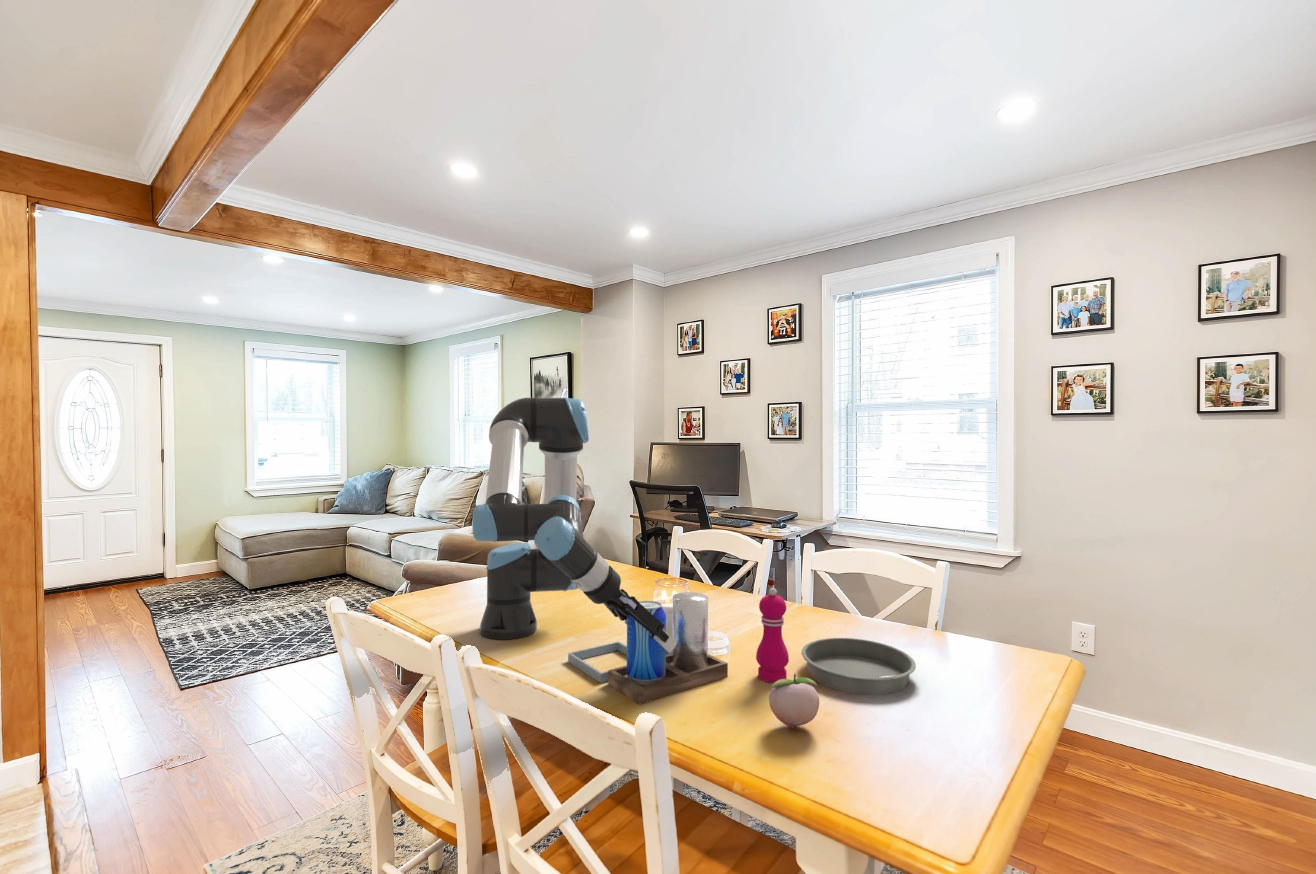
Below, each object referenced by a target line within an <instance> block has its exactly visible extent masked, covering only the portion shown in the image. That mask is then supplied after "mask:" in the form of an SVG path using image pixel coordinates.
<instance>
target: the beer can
mask: <svg viewBox="0 0 1316 874" xmlns="http://www.w3.org/2000/svg"><path fill="white" fill-rule="evenodd" d="M637 601H638V600H637ZM638 602H639V603H640V604H641V605H642V606H643V607H645V608H646V609H647V610H648V611H649V612H650V613H651V614H652V615H653V616H655V617H656V618H657V619H658V620H659V621H660V622H661V623H663V624H664V625H665V627H664V630H665V631H666V632H667V614H666V612H665V610H664V609H663V607H662V606H663V604H662V603H661V602H660V601H654V600H639V601H638ZM650 634H651V633H650V632H649V631H647V630H646V629H645V628H644V627H642V626H641V625H640V624H639V623H637V622H636V621H635V620H634V619H633V618H631V617H630V616H629V615H628V616H627V625H626V646H627V655H626V665H627V675H628V677H629V678H630V680H631V681H632V682H634V683H636V684H639V685H648V684H651V683H654V682H658V681H661V680H662V678H663V677H664V676H665V674H666V650H665V649H664V648H663V647H662V646H661V645H660V644H659V643H658V642H657V641H656V640H655V639H654V638H653V639H651V638H650V636H651V635H650Z"/></svg>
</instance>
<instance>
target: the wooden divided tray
mask: <svg viewBox="0 0 1316 874" xmlns="http://www.w3.org/2000/svg"><path fill="white" fill-rule="evenodd" d="M672 656H673V653H672V654H668V655H666V674H665V676H664V677H663V678H662V680H661V681H658V682H654V683H651V684H648V685H639V684H636V683H634V682H632V681H631V680H630V678H629V677H628V675H627V664H626V665H624V666H620V667H616V668H612V669H611V668H610V669H608V670H607V671H608V681H607V684H608V685H609V686H610V687H613V689H615V690H616V691H618V692H620V693H621V694H623V695H624V696H626V697H627V698H629V699H631V700H632V701H633V702H635V703H636V704H638V705H641V704H644V703H648V702H651V701H655V700H658V699H661V698H663V697H667V696H670V695H674V694H676V693H679V692H683V691H686V690H689V689H693V688H696V687H699V686H702V685H705V684H709V683H711V681H712V682H715V681H718V680H721V679H724V678H727V677H729V675H728V673H729V672H728V671H729V669H728V667H729V666H728V662H726V661H724V660H722V659H720V658H717V657H715V656H714V655H711V654H709V653H708V667H705V668H702V669H699V670H695V671H692V672H688V673H686V672H684V671H682V670H680V669H678V668H676V667H674V666H672ZM720 678H721V679H720ZM708 682H709V683H708ZM650 700H651V701H650ZM647 701H648V702H647Z"/></svg>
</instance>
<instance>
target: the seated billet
mask: <svg viewBox="0 0 1316 874" xmlns="http://www.w3.org/2000/svg"><path fill="white" fill-rule="evenodd" d="M672 638H673V639H674V640H675V641H676V642H677V644H676V645H675V647H674V648H673V656H672V666H674V667H676V668H678V669H680V670H682V671H684V672H686V673H688V672H692V671H695V670H699V669H702V668H705V667H708V654H709V596H708V595H707V594H704V593H701V592H700V593H699V592H692V591H691V592H689V591H688V592H687V591H686V592H680V593H679V592H678V593H675V594H673V595H672Z"/></svg>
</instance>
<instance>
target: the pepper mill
mask: <svg viewBox="0 0 1316 874" xmlns="http://www.w3.org/2000/svg"><path fill="white" fill-rule="evenodd" d="M777 592H778V591H777V589H776V588H774V587H772V588H769V590H768V594H766V595H764V596H763V597H762V598H761V599H760V600H759V604H758V606H759V607H758V608H759V611H760V613H761V614H762V615H761V617H760V618H761V621H760V622H761V624H762V627H763V632H762V633H763V634H762V638H761V640H760V643H759V645H758V647H757V649H756V653H755V660H756V662H757V664H758V665H759V667H758V669H757V670H758V671H757V673H758V675H757V676H758V678H759V679H760V680H762V681H764V682H767V683H773V684H774V683H775V682H776V681H778V680H780V679H788V678H787V672H788V671H787V669H786V666H787V665H789V664H788V663H789V661H790V659H789V656H790V655H789V652H788V649H787V646H786V644H785V642H784V639H783V634H782V629H783V625H784V624H785V621H784V620H785V617H784V615H785V614H786V611H787V603H786V601H785V599H784V598H783V597H782V596H780V595H777Z"/></svg>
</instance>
